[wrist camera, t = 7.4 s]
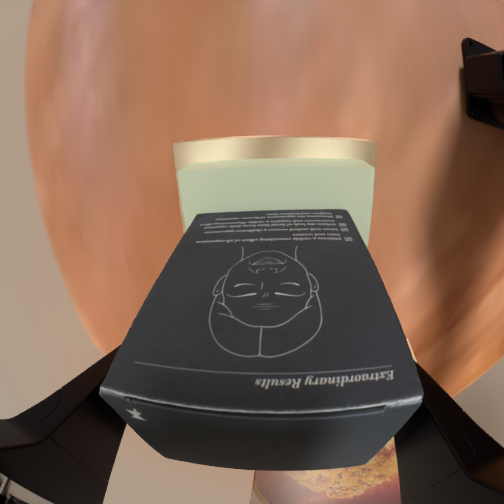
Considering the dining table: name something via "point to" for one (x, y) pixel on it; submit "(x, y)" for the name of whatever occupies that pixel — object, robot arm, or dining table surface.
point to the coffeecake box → (333, 482)
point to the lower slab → (270, 150)
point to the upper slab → (279, 187)
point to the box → (267, 347)
